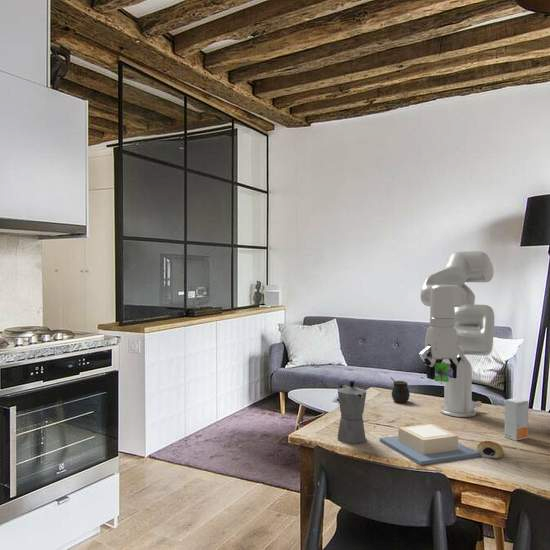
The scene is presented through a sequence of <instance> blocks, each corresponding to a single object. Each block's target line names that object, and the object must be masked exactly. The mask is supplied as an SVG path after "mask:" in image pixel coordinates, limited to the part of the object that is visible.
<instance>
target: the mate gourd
mask: <svg viewBox="0 0 550 550" xmlns="http://www.w3.org/2000/svg"><path fill="white" fill-rule="evenodd" d="M390 379H391V380H392V381H393V386H392V387H393V388H392V390H391V397H392V400H393V401H394V402H395V403H399V404H400V403H401V404H405V403H407V402H408V401H409V399H410V390H409V388H408V381H405V380H395V379H394V378H393V377H390Z"/></svg>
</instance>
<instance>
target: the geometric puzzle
mask: <svg viewBox="0 0 550 550" xmlns="http://www.w3.org/2000/svg"><path fill="white" fill-rule="evenodd" d="M434 367H435V379H434V382H440V384H443V383H445V382H449V380H451V379H449V376H450V377H451V378H452V377H453V369H452V368H451V367H450V366H449V364H446V363H445V361H440V362H435V364H434Z"/></svg>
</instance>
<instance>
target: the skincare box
mask: <svg viewBox="0 0 550 550" xmlns="http://www.w3.org/2000/svg"><path fill="white" fill-rule="evenodd" d="M504 438H507V439H510V440H513V441H515V442H516V441H521V440H525V439H528V438H529V400H527V399H524V398H523V399H522V398H519V397H514V398H508V399H505V400H504Z"/></svg>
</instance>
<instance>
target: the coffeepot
mask: <svg viewBox="0 0 550 550" xmlns="http://www.w3.org/2000/svg"><path fill="white" fill-rule="evenodd" d="M348 382H349V386H348V385H345V384H344V383H341V384H340V385H339V388H338V389H337V396H338V404H339V411H340V419H339V424H338V425H339V426H338V431H337V440H338V441H340V442H342V443H345V444H346V443H347V444H361V443H364V442H366V441H367V440H366V439H367V438H366V431H365V425H364V420H363V414H364V410H365V406H366V397H367V391H366V389H364V388H359V387H355V386H354V385H355V381H354V380H350V381H348Z"/></svg>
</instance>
